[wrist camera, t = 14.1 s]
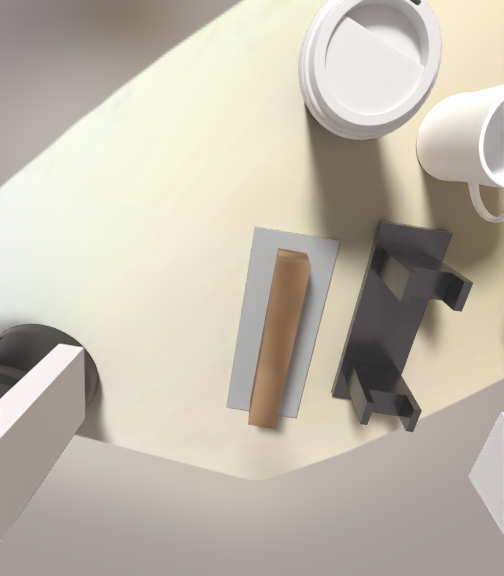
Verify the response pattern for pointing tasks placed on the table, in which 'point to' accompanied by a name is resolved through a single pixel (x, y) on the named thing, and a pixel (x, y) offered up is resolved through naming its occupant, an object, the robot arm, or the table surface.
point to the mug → (466, 142)
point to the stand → (394, 318)
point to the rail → (278, 335)
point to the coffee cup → (369, 64)
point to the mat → (256, 307)
